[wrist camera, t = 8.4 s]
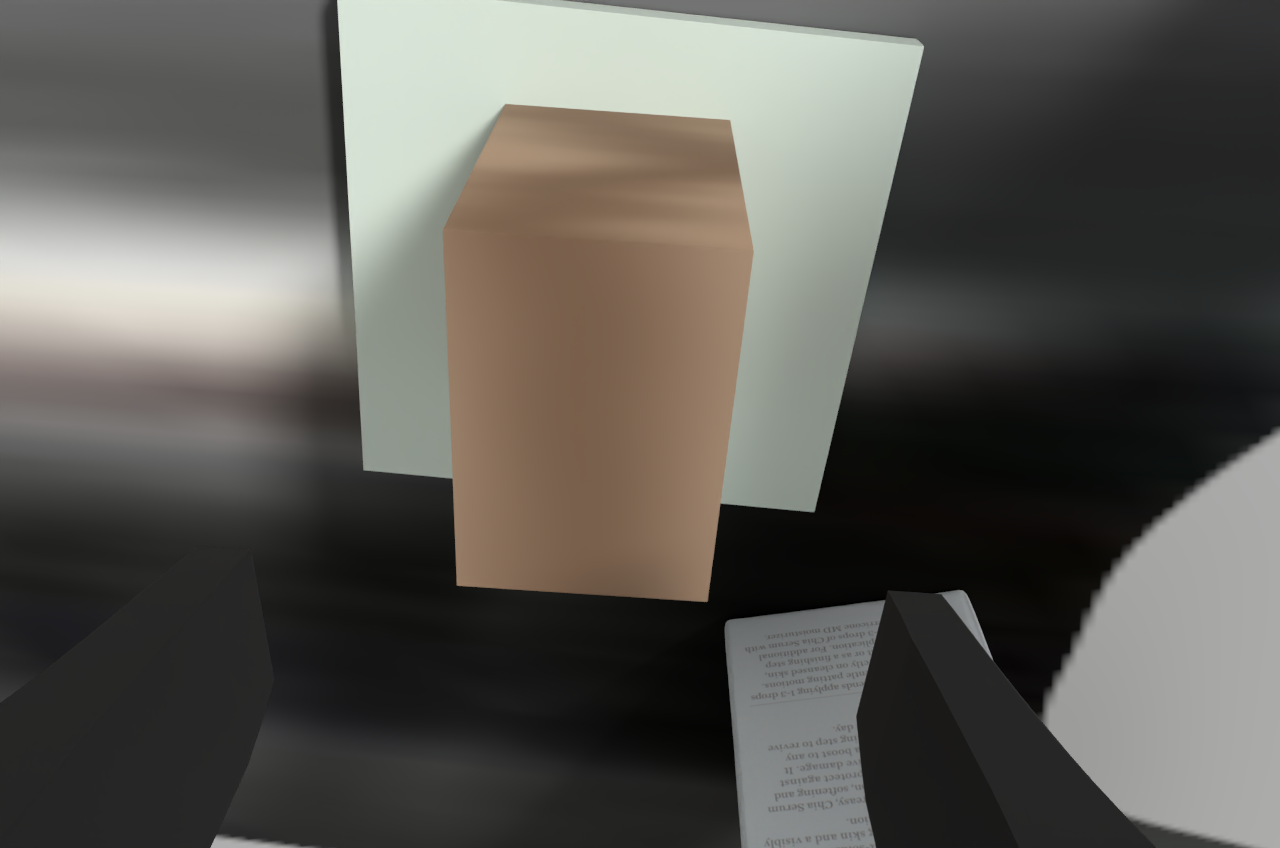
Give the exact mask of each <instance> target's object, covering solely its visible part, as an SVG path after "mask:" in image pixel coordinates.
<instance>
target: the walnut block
mask: <svg viewBox="0 0 1280 848" xmlns="http://www.w3.org/2000/svg"><path fill="white" fill-rule="evenodd" d="M443 249H444V274H445V299H446V324H447V349H448V374H449V399H450V424H451V449H452V474H453V499H454V524H455V549H456V574H457V586H470V587H485V588H500V589H516V590H531V591H547V592H562V593H577V594H593V595H608V596H624V597H639V598H655V599H670V600H685V601H701V602H707V601H708V594H709V586H710V579H711V571H712V564H713V556H714V548H715V541H716V533H717V526H718V518H719V511H720V503H721V496H722V488H723V480H724V473H725V465H726V458H727V450H728V443H729V435H730V427H731V420H732V412H733V405H734V397H735V390H736V382H737V375H738V367H739V359H740V352H741V344H742V337H743V329H744V322H745V314H746V306H747V299H748V291H749V284H750V276H751V269H752V261H753V254H754V249H753V244H752V238H751V233H750V227H749V222H748V216H747V211H746V205H745V200H744V194H743V189H742V183H741V177H740V172H739V166H738V161H737V155H736V150H735V144H734V139H733V133H732V128H731V122H730V120H723V119H709V118H695V117H681V116H667V115H653V114H639V113H626V112H612V111H598V110H584V109H570V108H556V107H542V106H528V105H514V104H505V106H504V108H503V110H502V112H501V114H500V116H499V118H498V120H497V122H496V124H495V126H494V128H493V130H492V132H491V134H490V136H489V138H488V140H487V142H486V144H485V146H484V148H483V150H482V152H481V154H480V156H479V158H478V160H477V162H476V164H475V166H474V168H473V170H472V172H471V174H470V176H469V178H468V180H467V182H466V184H465V186H464V188H463V190H462V192H461V194H460V196H459V198H458V200H457V202H456V204H455V206H454V208H453V210H452V212H451V214H450V216H449V218H448V220H447V222H446V224H445V226H444V228H443Z"/></svg>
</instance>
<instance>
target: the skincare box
mask: <svg viewBox="0 0 1280 848" xmlns="http://www.w3.org/2000/svg"><path fill="white" fill-rule="evenodd" d="M935 594H942V595H943V597H944V598H945V599H946V600H947V602H948V603H949V604H950V605H951V607H952V608H953V609H954V610H955V612H956V613H957V614H958V616H959V617H960V618H961V619H962V621H963V622H964V623H965V625H966V626H967V627H968V629H969V630H970V631H971V633H972V634H973V635H974V636H975V638H976V639H977V640H978V642H979V643H980V644H981V646H982V647H983V648H984V650H985V651H986V652H987V653H988V655H989V656H990V657H991V654H990V651H989V649H988V646H987V644H986V641H985V638H984V635H983V633H982V630H981V627H980V625H979V622H978V620H977V617H976V614H975V612H974V610H973V607H972V605H971V602H970V600H969V598H968V596H967V594H966V593H965V592H964V591H962V590H955V591H949V592H942V593H935ZM884 604H885V600H881V601H873V602H865V603H857V604H850V605H842V606H834V607H827V608H819V609H811V610H804V611H796V612H789V613H781V614H773V615H765V616H757V617H749V618H740V619H731V620H728V621H727V622H726V624H725V646H726V658H727V670H728V682H729V694H730V706H731V717H732V729H733V741H734V753H735V769H736V782H737V796H738V808H739V820H740V832H741V846H742V848H876V845H875V841H874V836H873V832H872V828H871V823H870V819H869V815H868V810H867V806H866V801H865V793H864V785H863V777H862V768H861V760H860V750H859V740H858V730H857V720H856V715H857V711H858V707H859V703H860V699H861V695H862V691H863V687H864V683H865V679H866V675H867V671H868V667H869V663H870V659H871V655H872V651H873V647H874V643H875V639H876V635H877V631H878V627H879V623H880V619H881V615H882V612H883V608H884ZM991 659H992V657H991ZM992 660H993V659H992Z"/></svg>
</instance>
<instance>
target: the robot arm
mask: <svg viewBox="0 0 1280 848" xmlns="http://www.w3.org/2000/svg"><path fill="white" fill-rule="evenodd" d="M273 683H274V675H273V669H272V663H271V658H270V652H269V647H268V641H267V635H266V630H265V624H264V619H263V613H262V607H261V602H260V596H259V591H258V585H257V579H256V574H255V568H254V563H253V557H252V551H251V550H248V549H233V548H217V547H202V546H197V547H196V548H194V549H193V550H192V551H191V552H189V553H188V554H187V555H185V556H184V557H183V558H182V559H180V560H179V561H178V562H177V563H176V564H174V565H173V566H172V567H171V568H169V569H168V570H167V571H166V572H165V573H163V574H162V575H161V576H160V577H159V578H157V579H156V580H155V581H154V582H153V583H151V584H150V585H149V586H148V587H146V588H145V589H144V590H143V591H142V592H140V593H139V594H138V595H137V596H136V597H134V598H133V599H132V600H131V601H130V602H128V603H127V604H126V605H125V606H124V607H122V608H121V609H120V610H119V611H117V612H116V613H115V614H114V615H113V616H111V617H110V618H109V619H108V620H107V621H105V622H104V623H103V624H102V625H100V626H99V627H98V628H97V629H96V630H94V631H93V632H92V633H91V634H89V635H88V636H87V637H86V638H84V639H83V640H82V641H81V642H79V643H78V644H77V645H76V646H74V647H73V648H72V649H71V650H69V651H68V652H67V653H66V654H64V655H63V656H62V657H61V658H59V659H58V660H57V661H56V662H54V663H53V664H52V665H51V666H49V667H48V668H47V669H46V670H44V671H43V672H42V673H41V674H39V675H38V676H36V677H35V678H34V679H32V680H31V681H30V682H28V683H27V684H26V685H24V686H23V687H22V688H20V689H19V690H18V691H16V692H15V693H13V694H12V695H11V696H9V697H8V698H7V699H5V700H4V701H3V702H1V703H0V848H210V847H211V845H212V843H213V841H214V839H215V836H216V834H217V832H218V830H219V828H220V826H221V823H222V821H223V819H224V817H225V814H226V812H227V810H228V808H229V806H230V803H231V801H232V799H233V797H234V795H235V792H236V790H237V788H238V786H239V783H240V781H241V779H242V777H243V774H244V772H245V770H246V768H247V765H248V763H249V760H250V757H251V754H252V751H253V748H254V745H255V742H256V739H257V736H258V732H259V729H260V726H261V723H262V720H263V716H264V713H265V710H266V706H267V703H268V700H269V696H270V693H271V690H272V686H273ZM856 720H857V730H858V740H859V750H860V760H861V768H862V777H863V785H864V793H865V801H866V806H867V810H868V815H869V819H870V823H871V828H872V832H873V836H874V841H875V845H876V848H1156V847H1155V846H1154V845H1153V844H1152V843H1151V842H1150V841H1149V840H1148V839H1147V838H1146V837H1145V836H1144V835H1143V834H1142V833H1141V832H1140V831H1139V830H1138V829H1137V828H1136V827H1135V826H1134V825H1133V824H1132V823H1131V822H1130V821H1129V820H1128V819H1127V817H1126V816H1125V815H1124V814H1123V813H1122V812H1121V811H1120V810H1119V809H1118V808H1117V807H1116V806H1115V805H1114V803H1113V802H1112V801H1111V800H1110V799H1109V798H1108V797H1107V796H1106V795H1105V794H1104V793H1103V792H1102V791H1101V789H1100V788H1099V787H1098V786H1097V785H1096V784H1095V783H1094V782H1093V781H1092V780H1091V779H1090V777H1089V776H1088V775H1087V774H1086V773H1085V772H1084V771H1083V770H1082V768H1081V767H1080V766H1079V765H1078V764H1077V763H1076V761H1075V760H1074V759H1073V758H1072V757H1071V756H1070V755H1069V753H1068V752H1067V751H1066V750H1065V749H1064V748H1063V746H1062V745H1061V744H1060V743H1059V742H1058V740H1057V739H1056V738H1055V737H1054V736H1053V734H1052V733H1051V732H1050V731H1049V730H1048V728H1047V727H1046V726H1045V725H1044V724H1043V722H1042V721H1041V720H1040V719H1039V718H1038V716H1037V715H1036V714H1035V713H1034V712H1033V710H1032V709H1031V708H1030V707H1029V706H1028V704H1027V703H1026V702H1025V701H1024V699H1023V698H1022V697H1021V696H1020V694H1019V693H1018V692H1017V691H1016V689H1015V688H1014V687H1013V686H1012V684H1011V683H1010V682H1009V680H1008V679H1007V678H1006V677H1005V675H1004V674H1003V673H1002V671H1001V670H1000V669H999V668H998V666H997V665H996V664H995V663H994V661H993V660H992V659H991V657H990V656H989V655H988V653H987V652H986V651H985V650H984V648H983V647H982V646H981V644H980V643H979V642H978V640H977V639H976V638H975V636H974V635H973V634H972V633H971V631H970V630H969V629H968V627H967V626H966V625H965V623H964V622H963V621H962V619H961V618H960V617H959V616H958V614H957V613H956V612H955V610H954V609H953V608H952V607H951V605H950V604H949V603H948V602H947V600H946V599H945V598H944V597H943V595H942V594H933V593H918V592H902V591H888V592H887V596H886V600H885V604H884V608H883V612H882V615H881V619H880V623H879V627H878V631H877V635H876V639H875V643H874V647H873V651H872V655H871V659H870V663H869V667H868V671H867V675H866V679H865V683H864V687H863V691H862V695H861V699H860V703H859V707H858V711H857V715H856Z"/></svg>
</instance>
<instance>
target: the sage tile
mask: <svg viewBox="0 0 1280 848" xmlns="http://www.w3.org/2000/svg"><path fill="white" fill-rule="evenodd" d="M337 4H338V22H339V40H340V58H341V76H342V94H343V111H344V129H345V147H346V165H347V183H348V201H349V219H350V237H351V255H352V273H353V291H354V309H355V327H356V344H357V362H358V380H359V398H360V416H361V434H362V452H363V470H367V471H377V472H388V473H399V474H410V475H420V476H431V477H442V478H452V479H453V474H452V449H451V424H450V399H449V374H448V349H447V324H446V299H445V274H444V249H443V228H444V226H445V224H446V222H447V220H448V218H449V216H450V214H451V212H452V210H453V208H454V206H455V204H456V202H457V200H458V198H459V196H460V194H461V192H462V190H463V188H464V186H465V184H466V182H467V180H468V178H469V176H470V174H471V172H472V170H473V168H474V166H475V164H476V162H477V160H478V158H479V156H480V154H481V152H482V150H483V148H484V146H485V144H486V142H487V140H488V138H489V136H490V134H491V132H492V130H493V128H494V126H495V124H496V122H497V120H498V118H499V116H500V114H501V112H502V110H503V108H504V106H505V104H514V105H528V106H542V107H556V108H570V109H584V110H598V111H612V112H626V113H639V114H653V115H667V116H681V117H695V118H709V119H723V120H730V122H731V128H732V133H733V139H734V144H735V150H736V155H737V161H738V166H739V172H740V177H741V183H742V189H743V194H744V200H745V205H746V211H747V216H748V222H749V227H750V233H751V238H752V244H753V249H754V254H753V261H752V269H751V276H750V284H749V291H748V299H747V306H746V314H745V322H744V329H743V337H742V344H741V352H740V359H739V367H738V375H737V382H736V390H735V397H734V405H733V412H732V420H731V427H730V435H729V443H728V450H727V458H726V465H725V473H724V480H723V488H722V496H721V504H731V505H742V506H753V507H764V508H774V509H785V510H796V511H806V512H814V511H815V507H816V503H817V499H818V495H819V490H820V486H821V482H822V478H823V473H824V469H825V465H826V461H827V456H828V452H829V448H830V444H831V439H832V435H833V431H834V427H835V422H836V418H837V414H838V410H839V405H840V401H841V397H842V393H843V389H844V384H845V380H846V376H847V372H848V367H849V363H850V359H851V355H852V350H853V346H854V342H855V338H856V333H857V329H858V325H859V321H860V316H861V312H862V308H863V304H864V299H865V295H866V291H867V287H868V282H869V278H870V274H871V270H872V266H873V261H874V257H875V253H876V249H877V244H878V240H879V236H880V232H881V227H882V223H883V219H884V215H885V210H886V206H887V202H888V198H889V193H890V189H891V185H892V181H893V176H894V172H895V168H896V164H897V160H898V155H899V151H900V147H901V143H902V138H903V134H904V130H905V126H906V121H907V117H908V113H909V109H910V104H911V100H912V96H913V92H914V87H915V83H916V79H917V75H918V70H919V66H920V62H921V58H922V54H923V49H924V46H923V45H922V44H921V43H920V42H919V41H918V40H917V39H913V38H903V37H894V36H885V35H876V34H867V33H857V32H848V31H839V30H830V29H820V28H811V27H802V26H793V25H784V24H774V23H765V22H756V21H747V20H737V19H728V18H719V17H710V16H701V15H691V14H682V13H673V12H664V11H655V10H645V9H636V8H627V7H618V6H608V5H599V4H590V3H581V2H572V1H562V0H337Z"/></svg>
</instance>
